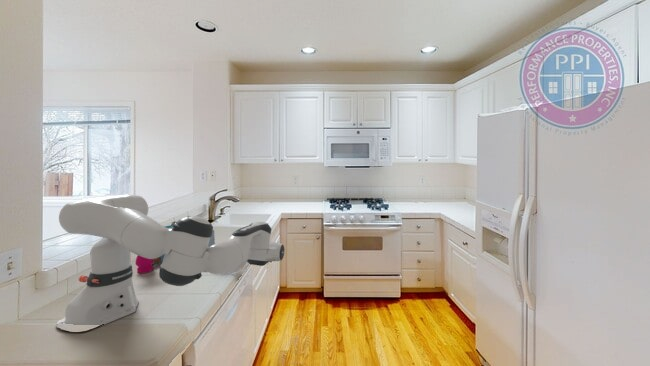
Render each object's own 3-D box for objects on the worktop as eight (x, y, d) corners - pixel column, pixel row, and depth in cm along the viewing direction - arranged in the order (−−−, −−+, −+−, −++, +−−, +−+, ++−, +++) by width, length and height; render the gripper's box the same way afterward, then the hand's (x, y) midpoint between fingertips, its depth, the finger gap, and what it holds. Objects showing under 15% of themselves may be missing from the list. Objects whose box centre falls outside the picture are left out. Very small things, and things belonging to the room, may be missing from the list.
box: (209, 264, 150) (207, 232, 149) (201, 263, 152) (200, 231, 151) (215, 261, 155) (214, 229, 153) (208, 260, 156) (206, 229, 155)
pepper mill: (140, 274, 138) (137, 230, 136) (133, 271, 142) (130, 228, 140) (156, 270, 143) (154, 227, 142) (149, 266, 148) (147, 225, 146)
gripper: (239, 263, 134) (213, 259, 139) (264, 249, 153) (241, 247, 158) (238, 248, 134) (213, 246, 138) (264, 237, 153) (240, 235, 158)
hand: (228, 246), depth 148 cm, fingers open, 8 cm apart
